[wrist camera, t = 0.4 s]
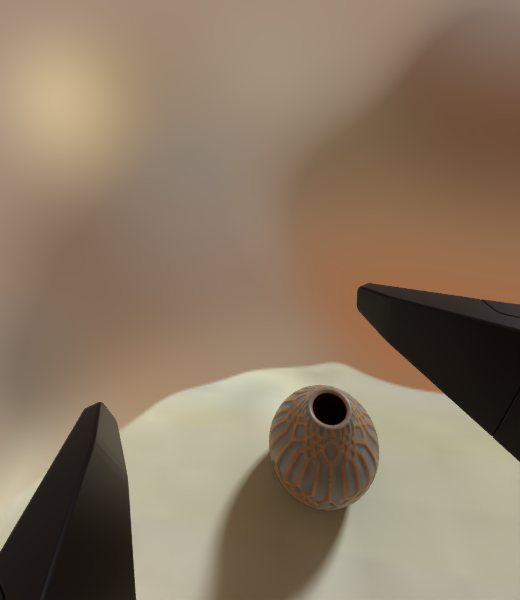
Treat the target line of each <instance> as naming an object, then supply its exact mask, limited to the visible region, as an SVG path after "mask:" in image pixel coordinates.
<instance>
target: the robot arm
mask: <svg viewBox="0 0 520 600" xmlns="http://www.w3.org/2000/svg"><path fill="white" fill-rule="evenodd" d="M357 308H358V310H359V312H360V313H362V315H363V316H364V317H365V318H366V319H367V320H368V321H369V323H370V324H371V325H372V326H373V327H374V328H375V329H376V330H377V331H378V333H379V334H380V335H381V336H382V337H383V338H384V339H385V340H386V341H387V342H388V343H389V344H390V345H391V346H393V347H394V348H395V349H396V350H397V351H398V352H399V353H400V354H402V356H404V357H405V358H406V359H407V360H408V361H409V362H410V363H411V364H412V365H414V366H415V367H416V368H417V369H418V370H419V371H420V372H421V373H422V374H424V375H425V376H426V377H427V378H428V379H429V380H430V381H431V382H432V383H433V384H435V385H436V386H437V387H438V388H439V389H440V390H441V391H442V392H443V393H444V394H446V395H447V396H448V397H449V398H450V399H451V400H452V401H453V402H454V403H456V404H457V405H458V406H459V407H460V408H461V409H462V410H463V411H464V412H465V413H467V414H468V415H469V416H470V417H471V418H472V419H473V420H474V421H475V422H477V423H478V424H479V425H480V426H481V427H482V428H483V429H484V430H485V431H487V432H488V433H489V434H490V435H491V436H493V438H494V439H495V440H496V441H497V442H498V443H500V444H501V445H502V446H503V447H504V448H505V449H506V450H507V451H508V452H509V453H511V454H512V455H513V456H514V457H515V458H516V459H517V460H518V461H519V462H520V304H511V303H503V302H496V301H490V300H480V299H475V298H468V297H462V296H455V295H447V294H441V293H433V292H427V291H419V290H413V289H406V288H399V287H392V286H385V285H379V284H372V283H367V284H365V285H362V286H360V287H359V288H358V291H357ZM0 600H136V593H135V578H134V563H133V548H132V533H131V517H130V502H129V487H128V477H127V471H126V465H125V460H124V455H123V450H122V445H121V440H120V434H119V429H118V425H117V422H116V420H115V418H114V417H113V415H112V414H111V413H110V411H109V410H108V409H107V407H106V406H105V405H104V404H103V403H101V402H98V403H96V404H94V405H91V406H89V407H87V408H85V409H84V411H83V412H82V414H81V416H80V417H79V419H78V421H77V422H76V424H75V426H74V427H73V429H72V431H71V433H70V434H69V436H68V438H67V439H66V441H65V443H64V444H63V446H62V448H61V450H60V451H59V453H58V454H57V456H56V458H55V460H54V461H53V463H52V465H51V466H50V468H49V470H48V471H47V473H46V475H45V476H44V478H43V480H42V482H41V483H40V485H39V487H38V488H37V490H36V492H35V493H34V495H33V497H32V499H31V500H30V502H29V504H28V505H27V507H26V509H25V510H24V512H23V514H22V515H21V517H20V519H19V521H18V522H17V524H16V526H15V527H14V529H13V531H12V532H11V534H10V536H9V537H8V539H7V541H6V543H5V544H4V546H3V548H2V549H1V551H0Z"/></svg>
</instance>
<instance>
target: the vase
mask: <svg viewBox="0 0 520 600" xmlns="http://www.w3.org/2000/svg"><path fill="white" fill-rule="evenodd" d="M269 450H270V457H271V461H272V465H273V468H274V470H275V472H276V475H277V477H278V479H279V480H280V482H281V484H282V485H283V486H284V488H285V489H286V490H287V491H288V492H289V493H290V494H291V495H292V496H293V497H294V498H295V499H297V500H298V501H300V502H301V503H303V504H305V505H307V506H309V507H312V508H315V509H319V510H338V509H342V508H345V507H347V506H349V505H351V504H353V503H354V502H356V501H357V500H358V499H360V498H361V497H362V496H363V495H364V494H365V492H366V491H367V490H368V489H369V487H370V485H371V484H372V482H373V480H374V478H375V475H376V472H377V468H378V462H379V444H378V438H377V434H376V430H375V428H374V425H373V422H372V420H371V418H370V417H369V415H368V413H367V412H366V410H365V409H364V408H363V407H362V405H361V404H360V403H359V402H358V401H357V400H356V399H354V398H353V397H352V396H350V395H349V394H347V393H346V392H344V391H342V390H340V389H337V388H334V387H331V386H324V385H314V386H308V387H305V388H302V389H300V390H298V391H296V392H294V393H293V394H291V395H290V396H289V397H288V398H287V399H286V400H285V401H284V402H283V403H282V404H281V406H280V407H279V409H278V410H277V412H276V414H275V416H274V418H273V421H272V424H271V428H270V434H269Z"/></svg>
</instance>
